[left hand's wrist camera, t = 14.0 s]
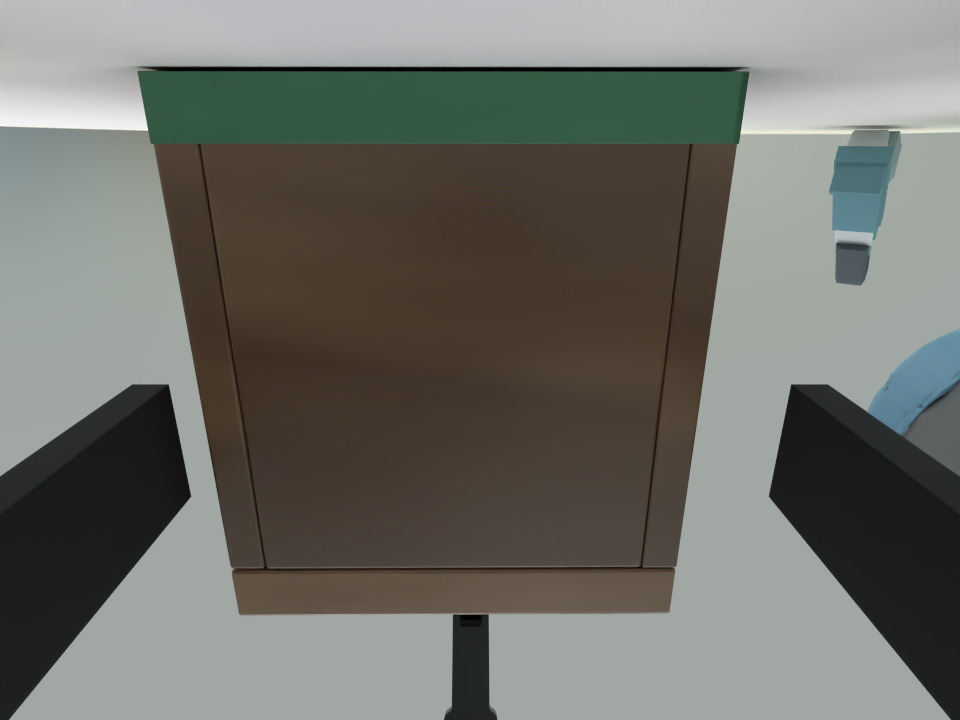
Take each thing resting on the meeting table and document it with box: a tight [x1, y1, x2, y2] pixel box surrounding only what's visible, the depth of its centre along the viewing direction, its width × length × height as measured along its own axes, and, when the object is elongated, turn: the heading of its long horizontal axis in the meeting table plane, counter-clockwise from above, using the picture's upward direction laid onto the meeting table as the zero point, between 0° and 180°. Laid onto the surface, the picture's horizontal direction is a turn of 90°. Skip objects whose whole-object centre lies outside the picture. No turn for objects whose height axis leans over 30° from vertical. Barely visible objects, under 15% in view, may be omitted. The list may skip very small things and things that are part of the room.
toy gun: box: [829, 130, 902, 285], centre depth 50 cm, size 4×19×10 cm
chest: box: [138, 71, 749, 569], centre depth 18 cm, size 16×10×10 cm, turn 0°
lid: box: [232, 565, 675, 616], centre depth 22 cm, size 17×10×8 cm, turn 0°
